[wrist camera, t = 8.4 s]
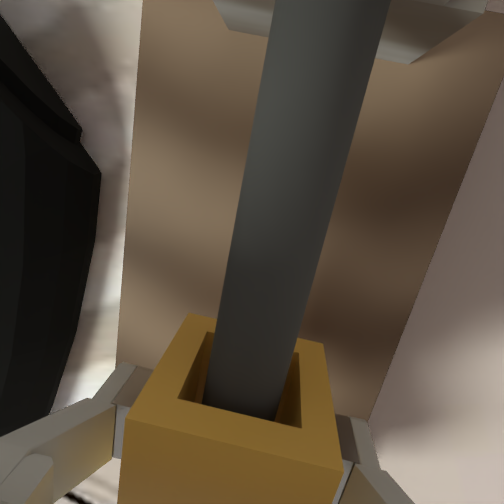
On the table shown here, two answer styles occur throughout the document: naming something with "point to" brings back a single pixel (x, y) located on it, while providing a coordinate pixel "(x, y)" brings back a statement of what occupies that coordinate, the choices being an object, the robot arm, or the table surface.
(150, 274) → the slider rail assembly
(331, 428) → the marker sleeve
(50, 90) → the black u-shaped plate
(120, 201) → the table surface
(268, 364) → the dark grey rod
